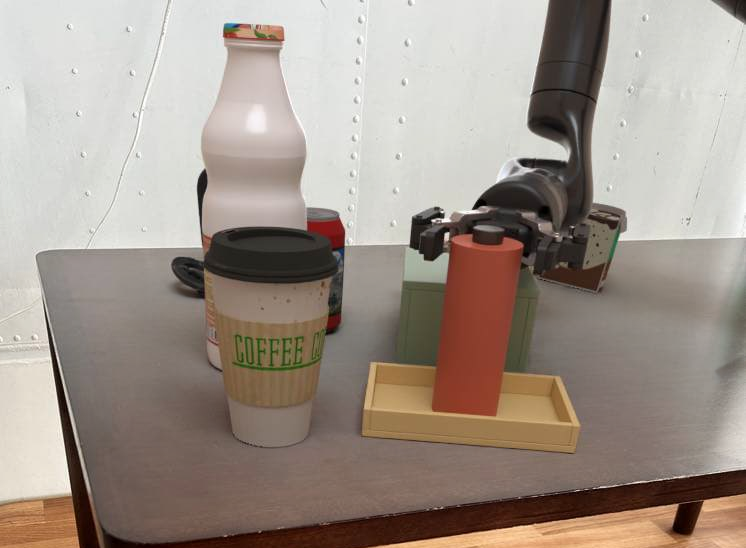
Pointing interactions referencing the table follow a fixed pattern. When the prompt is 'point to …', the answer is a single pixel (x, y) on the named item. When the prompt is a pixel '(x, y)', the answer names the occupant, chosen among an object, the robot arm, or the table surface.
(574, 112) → the robot arm
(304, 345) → the coffee cup
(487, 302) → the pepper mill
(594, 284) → the food container
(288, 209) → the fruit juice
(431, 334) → the cabinet
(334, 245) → the beverage can
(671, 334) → the table surface
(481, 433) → the tray
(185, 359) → the table surface
